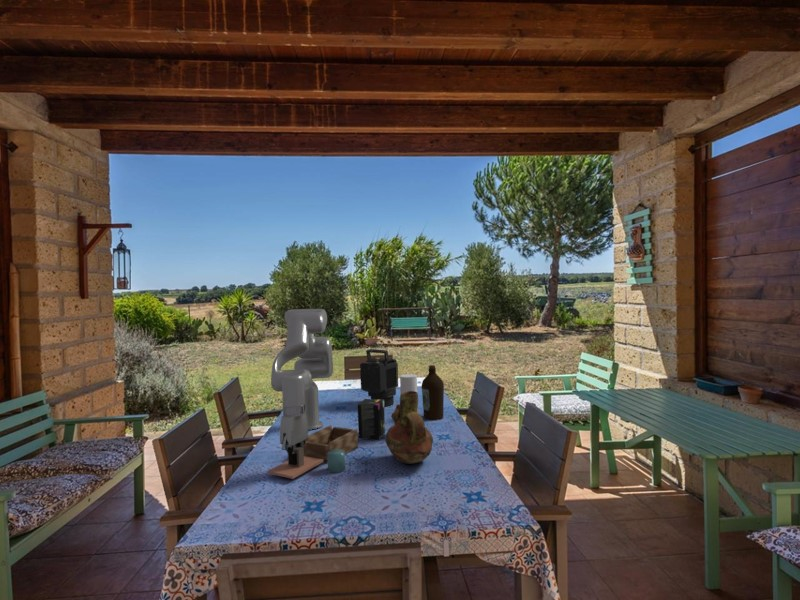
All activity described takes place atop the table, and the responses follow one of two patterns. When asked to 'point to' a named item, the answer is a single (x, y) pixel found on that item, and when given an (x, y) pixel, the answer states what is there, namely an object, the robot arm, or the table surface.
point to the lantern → (379, 377)
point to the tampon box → (371, 419)
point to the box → (330, 442)
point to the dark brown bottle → (433, 395)
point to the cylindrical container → (408, 383)
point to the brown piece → (295, 470)
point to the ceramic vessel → (408, 431)
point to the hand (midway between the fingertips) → (296, 462)
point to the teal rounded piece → (336, 461)
